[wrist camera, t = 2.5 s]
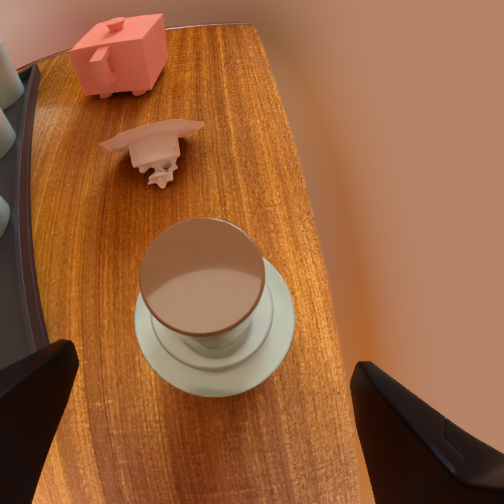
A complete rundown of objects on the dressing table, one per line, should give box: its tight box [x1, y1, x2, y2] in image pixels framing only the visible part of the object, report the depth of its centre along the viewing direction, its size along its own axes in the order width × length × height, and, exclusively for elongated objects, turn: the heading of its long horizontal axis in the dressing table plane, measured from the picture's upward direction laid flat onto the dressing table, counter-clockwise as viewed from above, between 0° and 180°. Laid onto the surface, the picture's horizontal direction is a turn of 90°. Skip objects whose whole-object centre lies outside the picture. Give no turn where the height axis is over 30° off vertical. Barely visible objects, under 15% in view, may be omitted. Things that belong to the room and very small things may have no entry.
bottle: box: [134, 217, 295, 398], centre depth 12 cm, size 5×5×13 cm
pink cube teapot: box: [70, 14, 168, 98], centre depth 25 cm, size 8×12×8 cm, turn 177°
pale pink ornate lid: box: [98, 118, 206, 189], centre depth 21 cm, size 8×5×8 cm
